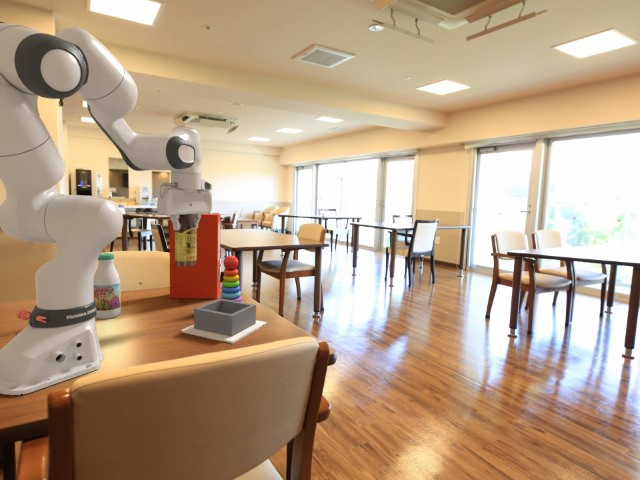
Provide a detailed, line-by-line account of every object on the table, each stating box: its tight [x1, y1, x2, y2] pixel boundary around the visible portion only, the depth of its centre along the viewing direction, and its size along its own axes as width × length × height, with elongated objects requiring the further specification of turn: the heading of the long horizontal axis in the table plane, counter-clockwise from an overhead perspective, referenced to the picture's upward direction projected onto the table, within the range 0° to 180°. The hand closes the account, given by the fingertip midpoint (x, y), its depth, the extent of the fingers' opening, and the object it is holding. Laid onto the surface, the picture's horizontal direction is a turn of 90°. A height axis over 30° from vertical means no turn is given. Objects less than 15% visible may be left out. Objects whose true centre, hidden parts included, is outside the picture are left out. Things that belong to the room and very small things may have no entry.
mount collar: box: [180, 298, 268, 345], centre depth 116 cm, size 18×18×7 cm
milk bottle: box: [94, 252, 122, 320], centre depth 122 cm, size 8×8×20 cm
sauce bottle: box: [175, 203, 197, 267], centre depth 118 cm, size 7×6×20 cm
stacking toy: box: [220, 255, 243, 302], centre depth 136 cm, size 8×8×19 cm
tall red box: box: [168, 213, 222, 300], centre depth 147 cm, size 8×17×32 cm, turn 97°
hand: (186, 229), depth 118 cm, fingers closed on sauce bottle, 6 cm apart
